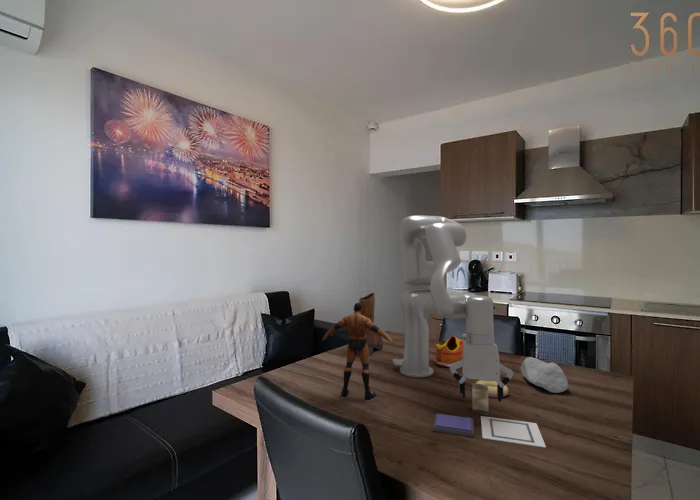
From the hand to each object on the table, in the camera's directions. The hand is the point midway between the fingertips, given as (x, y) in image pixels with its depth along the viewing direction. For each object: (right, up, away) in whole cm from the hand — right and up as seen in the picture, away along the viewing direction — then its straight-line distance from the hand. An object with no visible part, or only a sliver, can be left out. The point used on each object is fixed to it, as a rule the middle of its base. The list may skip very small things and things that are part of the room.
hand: (481, 398), depth 102 cm
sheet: (+3, -4, -11) cm, 12 cm away
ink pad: (-11, -4, -9) cm, 14 cm away
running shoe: (+9, -4, +47) cm, 48 cm away
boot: (-28, -5, +65) cm, 71 cm away
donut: (+8, -4, +13) cm, 16 cm away
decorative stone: (+28, -4, +19) cm, 34 cm away
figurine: (-36, -4, +11) cm, 38 cm away
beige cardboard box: (0, -4, 0) cm, 4 cm away
